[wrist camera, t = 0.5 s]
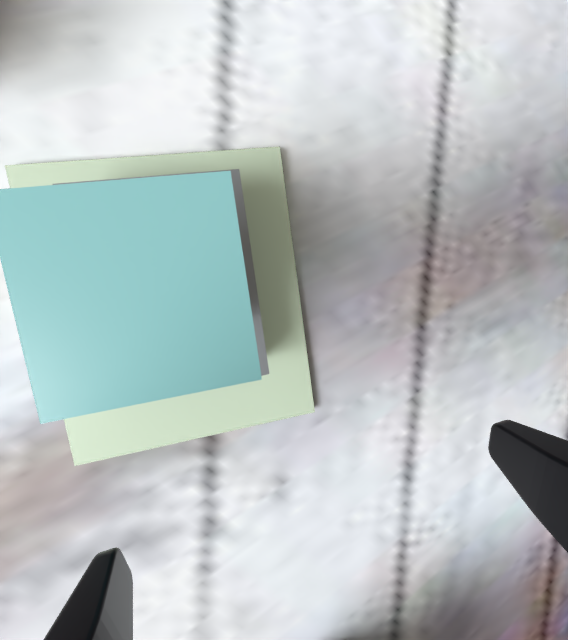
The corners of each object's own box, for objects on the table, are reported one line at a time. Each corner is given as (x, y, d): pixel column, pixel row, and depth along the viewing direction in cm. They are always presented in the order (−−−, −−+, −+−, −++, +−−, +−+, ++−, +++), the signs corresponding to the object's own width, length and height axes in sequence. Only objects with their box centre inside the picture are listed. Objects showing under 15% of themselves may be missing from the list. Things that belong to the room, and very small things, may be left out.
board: (311, 408, 24) (314, 412, 23) (78, 460, 21) (74, 465, 20) (277, 150, 21) (279, 146, 21) (11, 169, 19) (4, 165, 18)
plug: (228, 323, 21) (262, 379, 9) (135, 338, 20) (40, 423, 8) (213, 234, 20) (230, 170, 8) (117, 245, 19) (-17, 190, 7)
